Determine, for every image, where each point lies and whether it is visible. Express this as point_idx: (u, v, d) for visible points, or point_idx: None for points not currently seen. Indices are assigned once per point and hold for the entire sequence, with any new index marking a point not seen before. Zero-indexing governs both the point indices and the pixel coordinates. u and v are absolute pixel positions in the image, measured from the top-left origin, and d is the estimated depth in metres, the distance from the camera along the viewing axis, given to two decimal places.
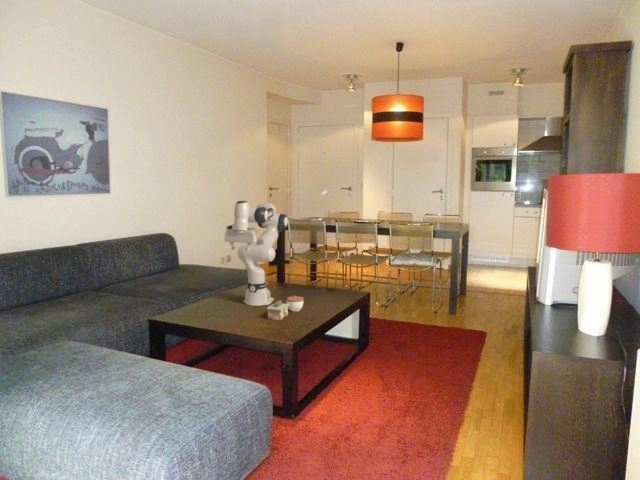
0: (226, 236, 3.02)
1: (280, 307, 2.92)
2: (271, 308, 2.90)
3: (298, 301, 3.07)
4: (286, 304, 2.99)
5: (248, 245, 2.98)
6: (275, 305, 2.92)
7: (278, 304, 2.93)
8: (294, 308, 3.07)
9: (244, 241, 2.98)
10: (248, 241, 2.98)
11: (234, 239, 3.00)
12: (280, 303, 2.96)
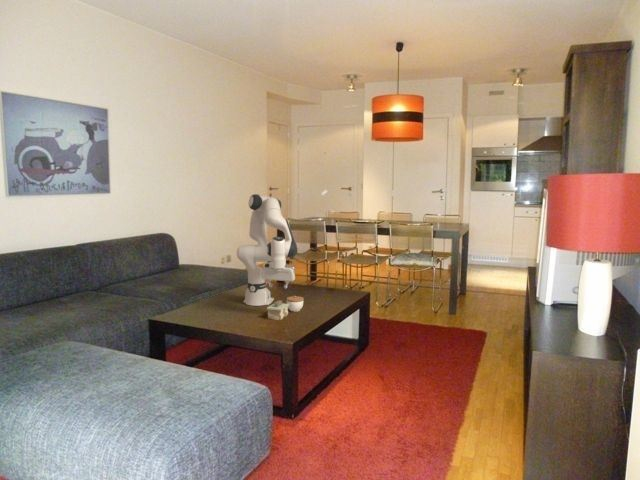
0: (263, 274, 2.94)
1: (280, 307, 2.92)
2: (271, 308, 2.90)
3: (298, 301, 3.07)
4: (286, 304, 2.99)
5: (287, 283, 2.91)
6: (275, 305, 2.92)
7: (278, 304, 2.93)
8: (294, 308, 3.07)
9: (282, 279, 2.91)
10: (287, 279, 2.90)
11: (271, 277, 2.93)
12: (280, 303, 2.96)
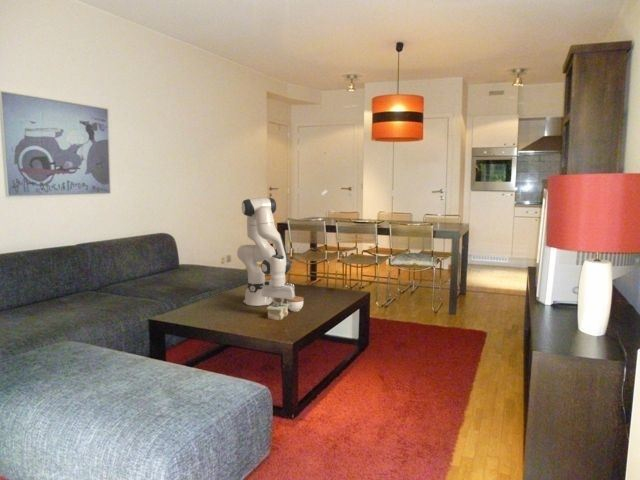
0: (263, 291, 2.95)
1: (280, 307, 2.92)
2: (271, 308, 2.90)
3: (298, 301, 3.07)
4: (286, 304, 2.99)
5: (282, 300, 2.93)
6: (275, 305, 2.92)
7: (278, 304, 2.93)
8: (294, 308, 3.07)
9: (282, 297, 2.92)
10: (286, 297, 2.91)
11: (271, 294, 2.94)
12: None
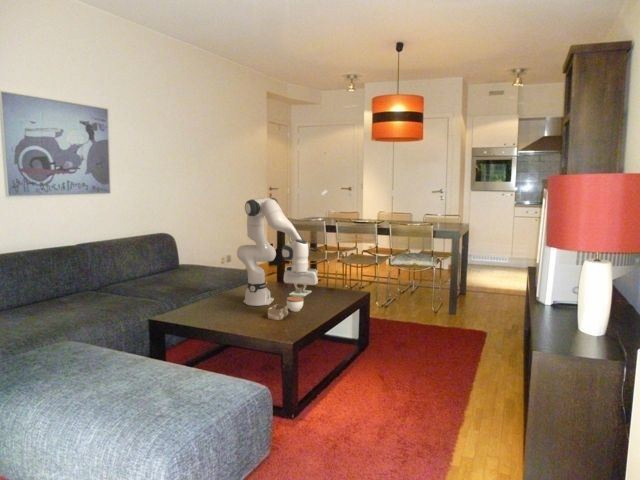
0: (285, 277, 2.88)
1: (303, 293, 2.84)
2: (294, 294, 2.82)
3: (298, 301, 3.07)
4: (308, 291, 2.91)
5: (304, 286, 2.85)
6: (298, 291, 2.84)
7: (301, 290, 2.85)
8: (294, 308, 3.07)
9: (305, 283, 2.84)
10: (309, 283, 2.83)
11: (293, 280, 2.86)
12: None
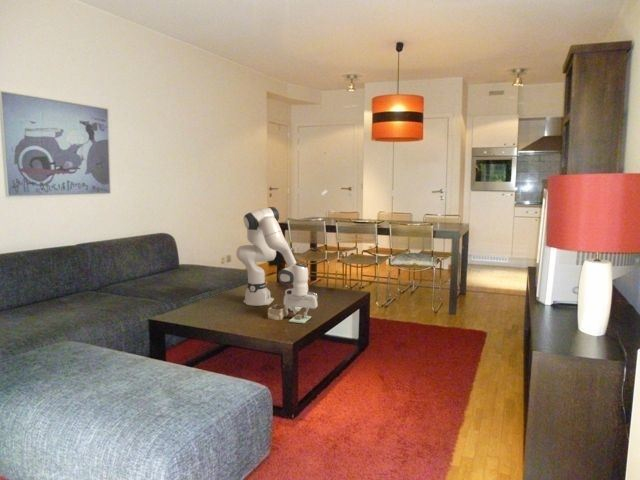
0: (285, 300, 2.89)
1: (303, 320, 2.86)
2: (294, 321, 2.84)
3: None
4: (308, 316, 2.93)
5: (307, 310, 2.87)
6: (297, 318, 2.86)
7: (300, 316, 2.87)
8: None
9: (305, 306, 2.86)
10: (309, 306, 2.85)
11: (293, 303, 2.88)
12: (302, 315, 2.90)
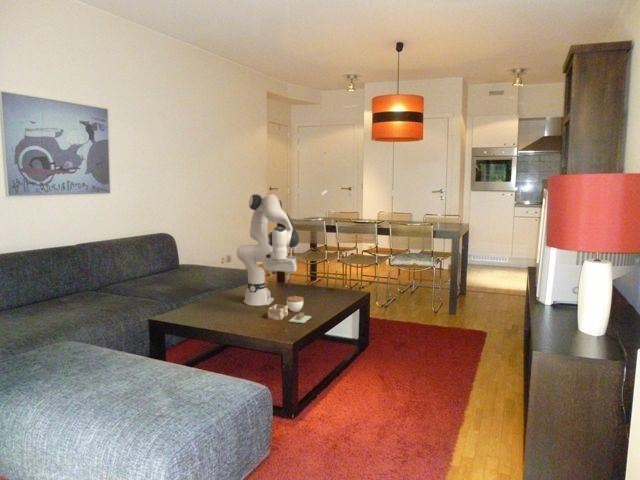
0: (264, 264, 2.89)
1: (302, 320, 2.86)
2: (293, 321, 2.84)
3: (298, 301, 3.07)
4: (308, 316, 2.93)
5: (288, 274, 2.87)
6: (297, 317, 2.86)
7: (300, 316, 2.87)
8: (294, 308, 3.07)
9: (284, 270, 2.86)
10: (288, 270, 2.85)
11: (273, 267, 2.88)
12: (302, 315, 2.90)
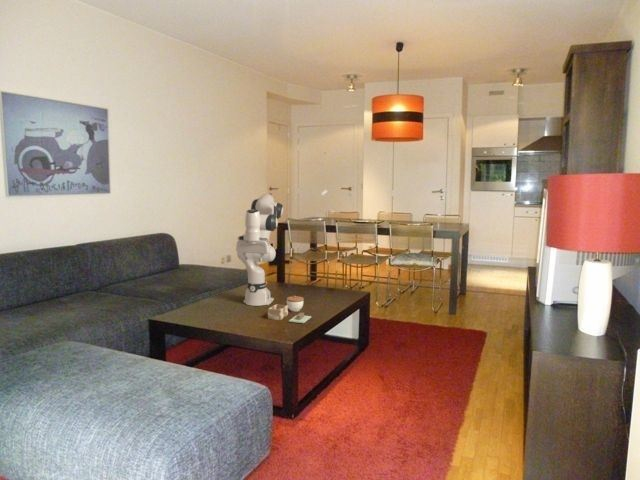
0: (238, 247, 2.92)
1: (302, 320, 2.86)
2: (293, 321, 2.84)
3: (298, 301, 3.07)
4: (308, 316, 2.93)
5: (261, 256, 2.89)
6: (297, 317, 2.86)
7: (300, 316, 2.87)
8: (294, 308, 3.07)
9: (257, 252, 2.88)
10: (261, 252, 2.87)
11: (246, 249, 2.90)
12: (302, 315, 2.90)
